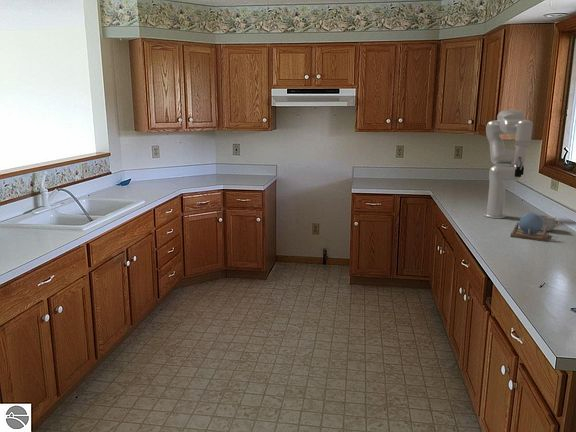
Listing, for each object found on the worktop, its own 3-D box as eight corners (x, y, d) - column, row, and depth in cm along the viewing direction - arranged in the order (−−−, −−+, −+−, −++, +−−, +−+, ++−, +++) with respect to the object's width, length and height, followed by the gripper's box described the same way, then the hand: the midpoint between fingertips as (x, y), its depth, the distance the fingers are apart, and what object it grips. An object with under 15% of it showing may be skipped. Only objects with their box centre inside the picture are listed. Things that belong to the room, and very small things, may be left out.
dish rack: (514, 230, 269) (515, 221, 268) (548, 235, 261) (549, 226, 260) (510, 236, 257) (511, 227, 256) (546, 241, 248) (547, 232, 247)
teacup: (528, 228, 275) (530, 214, 273) (542, 226, 278) (544, 213, 276) (549, 234, 262) (551, 220, 260) (563, 232, 266) (566, 218, 264)
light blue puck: (518, 232, 260) (520, 211, 257) (541, 235, 254) (544, 213, 252) (517, 233, 258) (520, 212, 255) (540, 236, 252) (543, 214, 250)
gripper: (516, 142, 270) (513, 173, 274) (512, 144, 255) (509, 177, 259) (531, 143, 266) (528, 174, 270) (528, 145, 252) (524, 178, 255)
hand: (518, 175), depth 265 cm, fingers open, 9 cm apart
